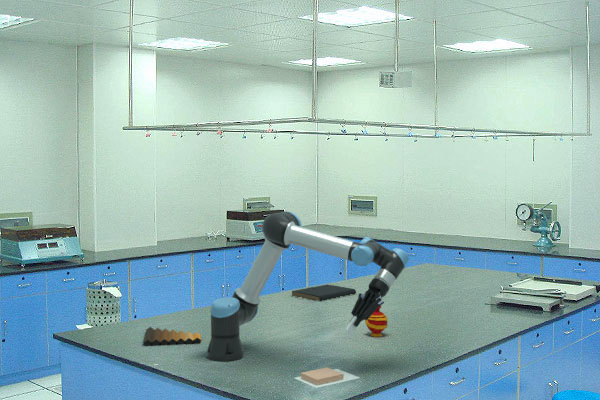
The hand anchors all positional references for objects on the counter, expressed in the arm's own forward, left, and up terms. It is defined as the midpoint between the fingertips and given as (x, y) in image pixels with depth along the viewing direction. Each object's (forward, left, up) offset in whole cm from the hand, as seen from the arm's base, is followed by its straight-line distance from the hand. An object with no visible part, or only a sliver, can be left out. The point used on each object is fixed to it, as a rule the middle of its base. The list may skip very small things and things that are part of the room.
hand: (347, 332), depth 254 cm
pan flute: (-19, -93, -17) cm, 96 cm away
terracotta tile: (+6, -3, -14) cm, 16 cm away
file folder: (-146, -72, -17) cm, 164 cm away
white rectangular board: (+9, -5, -16) cm, 19 cm away
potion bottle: (-62, -10, -16) cm, 65 cm away
